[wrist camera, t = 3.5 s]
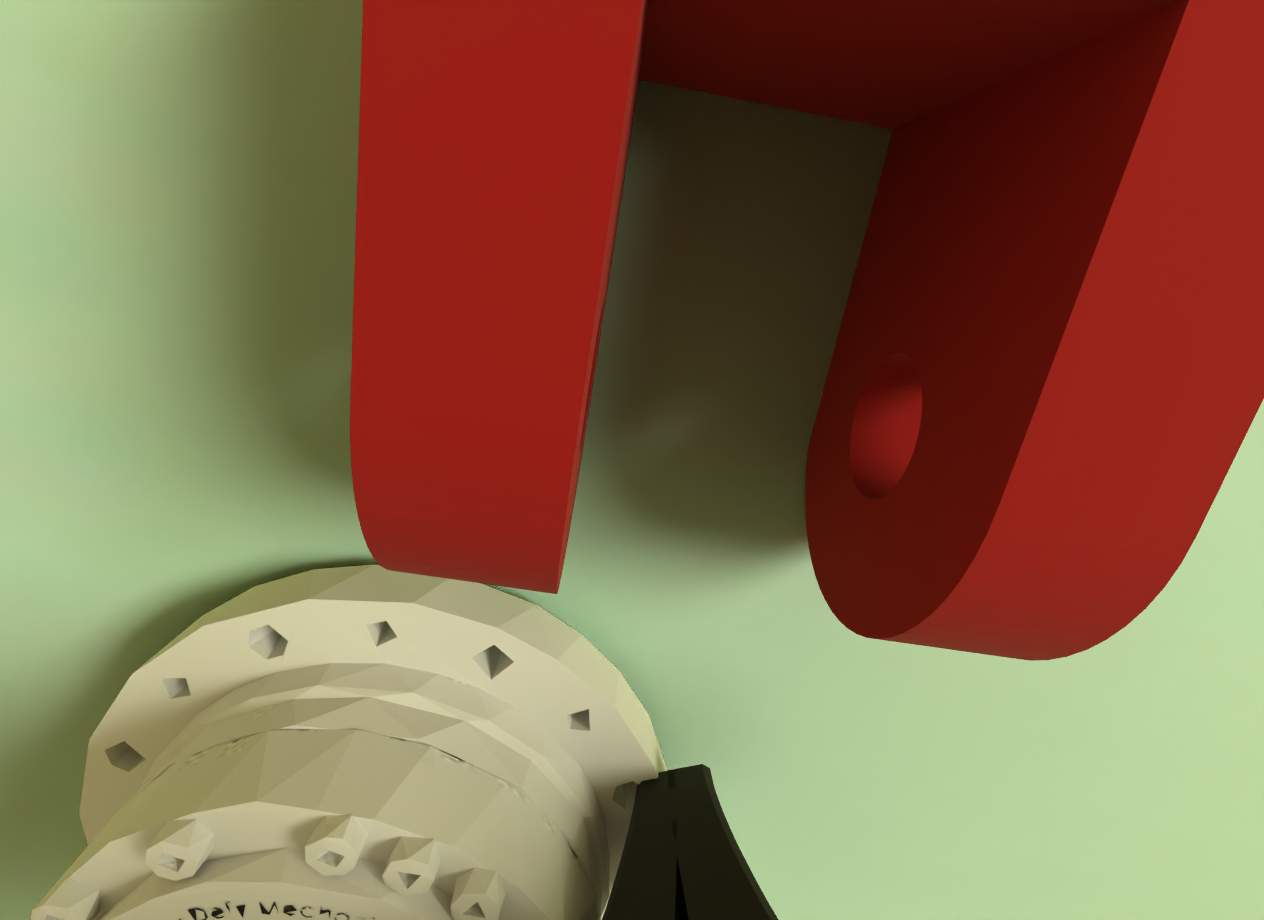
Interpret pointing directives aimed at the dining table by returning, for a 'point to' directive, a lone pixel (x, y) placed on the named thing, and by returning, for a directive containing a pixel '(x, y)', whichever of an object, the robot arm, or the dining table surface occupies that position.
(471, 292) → the mechanical linkage
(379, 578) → the mechanical component
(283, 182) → the dining table surface
